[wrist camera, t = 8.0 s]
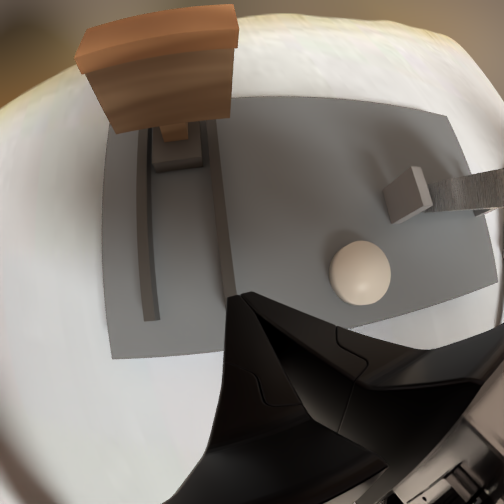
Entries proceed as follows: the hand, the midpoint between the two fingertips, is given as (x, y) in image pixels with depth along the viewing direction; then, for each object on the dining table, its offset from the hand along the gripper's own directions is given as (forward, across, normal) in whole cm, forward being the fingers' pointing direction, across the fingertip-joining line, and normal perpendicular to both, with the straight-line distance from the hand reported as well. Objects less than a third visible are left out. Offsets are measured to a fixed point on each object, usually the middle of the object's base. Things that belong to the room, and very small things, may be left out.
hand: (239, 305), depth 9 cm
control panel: (+8, -9, 0) cm, 12 cm away
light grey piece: (+4, -17, -1) cm, 17 cm away
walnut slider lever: (+11, 0, -5) cm, 12 cm away
